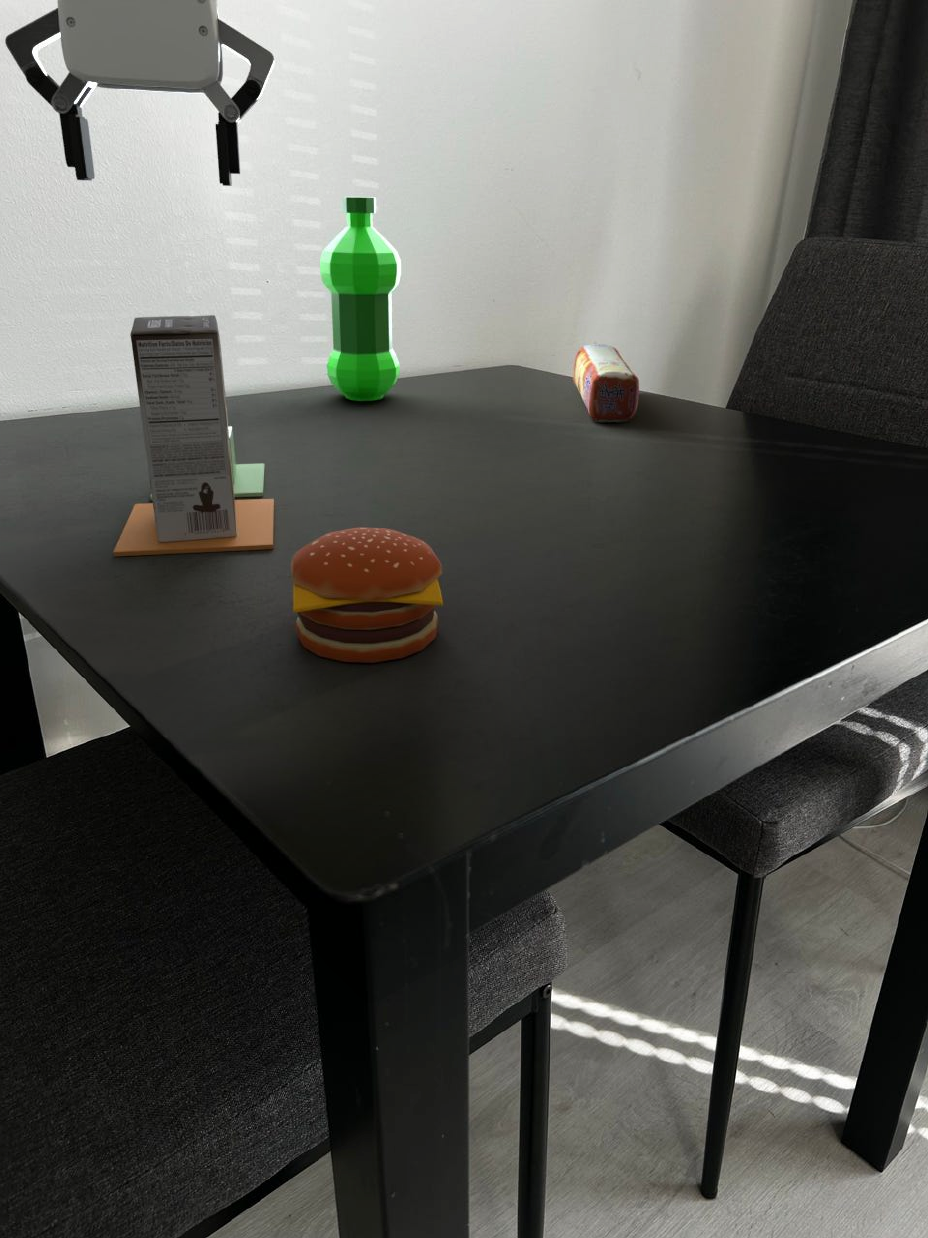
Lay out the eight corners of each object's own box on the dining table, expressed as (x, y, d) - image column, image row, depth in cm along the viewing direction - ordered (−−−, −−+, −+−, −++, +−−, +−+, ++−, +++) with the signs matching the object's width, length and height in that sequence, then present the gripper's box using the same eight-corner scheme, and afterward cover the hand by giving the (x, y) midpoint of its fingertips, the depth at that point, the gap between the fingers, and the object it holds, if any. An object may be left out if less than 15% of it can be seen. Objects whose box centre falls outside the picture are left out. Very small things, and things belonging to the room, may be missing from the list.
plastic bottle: (417, 396, 126) (416, 198, 116) (361, 408, 119) (354, 197, 108) (367, 386, 132) (362, 196, 122) (311, 396, 125) (300, 195, 114)
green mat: (150, 500, 82) (149, 496, 82) (162, 470, 91) (162, 466, 91) (263, 496, 84) (262, 492, 84) (264, 467, 93) (264, 463, 93)
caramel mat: (113, 556, 70) (112, 551, 70) (135, 507, 81) (135, 503, 80) (273, 549, 72) (272, 544, 72) (273, 502, 83) (273, 498, 82)
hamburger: (297, 673, 54) (289, 568, 51) (294, 607, 62) (287, 514, 59) (454, 661, 55) (455, 558, 52) (430, 598, 64) (430, 507, 61)
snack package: (638, 425, 113) (643, 369, 110) (584, 423, 113) (589, 368, 110) (617, 391, 132) (621, 343, 130) (571, 390, 133) (574, 341, 130)
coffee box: (157, 508, 79) (132, 315, 72) (233, 503, 81) (215, 314, 74) (156, 544, 71) (128, 331, 64) (240, 538, 73) (221, 329, 66)
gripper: (267, -88, 63) (279, 187, 70) (-3, -112, 60) (40, 178, 67) (265, -120, 56) (280, 187, 63) (-38, -149, 53) (14, 177, 60)
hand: (156, 182), depth 65 cm, fingers open, 9 cm apart
